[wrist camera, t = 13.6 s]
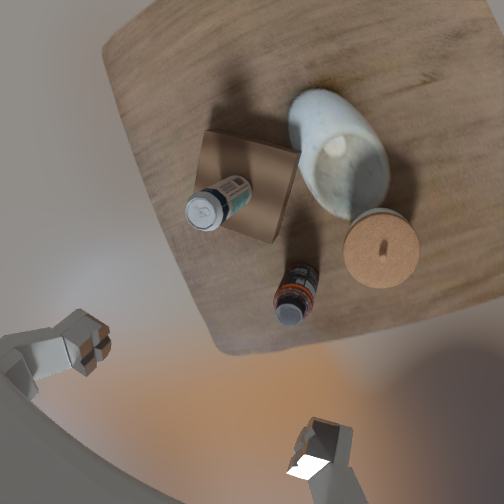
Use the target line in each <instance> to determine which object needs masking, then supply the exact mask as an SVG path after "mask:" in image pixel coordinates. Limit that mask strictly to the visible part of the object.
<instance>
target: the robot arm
mask: <svg viewBox="0 0 504 504" xmlns="http://www.w3.org/2000/svg"><path fill="white" fill-rule="evenodd" d="M109 333H110V330H109V326H107V325H106V324H104V323H102V322H101V321H99V320H98V319H96V318H94V317H93V316H91V315H90V314H88V313H87V312H85V311H83V310H82V309H76V310H75V311H74V312H72V313H71V314H70V315H69V316H67V317H66V318H65V319H64V320H62V321H61V322H60V323H59V324H57V325H56V326H55V327H54V328H50V327H48V328H43V329H38V330H32V331H26V332H21V333H15V334H9V335H4V336H3V337H2V338H0V504H185V503H183V502H181V501H179V500H177V499H175V498H172V497H170V496H168V495H166V494H164V493H162V492H160V491H158V490H156V489H154V488H153V487H151V486H149V485H147V484H145V483H143V482H141V481H140V480H138V479H136V478H134V477H133V476H131V475H129V474H127V473H126V472H124V471H122V470H121V469H119V468H118V467H116V466H114V465H113V464H111V463H109V462H108V461H106V460H105V459H104V458H102V457H101V456H99V455H98V454H96V453H95V452H93V451H92V450H90V449H89V448H88V447H86V446H85V445H83V444H82V443H80V442H79V441H78V440H77V439H75V438H74V437H73V436H71V435H70V434H69V433H67V432H66V431H65V430H64V429H62V428H61V427H60V426H59V425H57V424H56V423H55V422H54V421H52V419H50V418H49V417H48V416H47V415H46V414H45V413H43V412H42V411H41V410H40V409H39V408H38V407H36V405H34V404H33V403H32V402H31V400H32V399H33V398H34V397H35V395H36V394H37V393H38V387H37V385H36V383H35V380H38V379H41V378H44V377H47V376H50V375H53V374H56V373H59V372H62V371H65V370H67V369H70V368H74V369H75V370H77V371H78V372H80V373H81V374H83V375H84V376H86V377H87V376H88V375H89V374H90V373H91V372H92V371H93V370H94V369H95V368H96V367H97V362H99V361H103V360H104V359H105V358H106V357H107V356H108V354H109V352H110V350H111V340H110V338H109V336H108V334H109ZM352 436H353V429H352V428H351V427H348V426H344V425H340V424H338V423H334V422H331V421H327V420H323V419H320V418H316V417H312V418H311V419H310V420H309V422H308V426H306V427H304V428H303V429H302V431H301V433H300V435H299V436H298V439H297V441H296V444H295V447H294V449H295V452H296V454H295V455H294V456H293V457H292V458H291V460H290V464H289V467H288V470H287V474H290V475H294V476H297V477H300V478H304V479H307V480H308V484H309V487H310V490H311V494H312V497H313V501H314V504H368V501H367V499H366V497H365V495H364V493H363V491H362V488H361V486H360V484H359V482H358V480H357V478H356V476H355V474H354V471H353V469H352V467H348V464H349V457H350V450H351V443H352Z"/></svg>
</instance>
